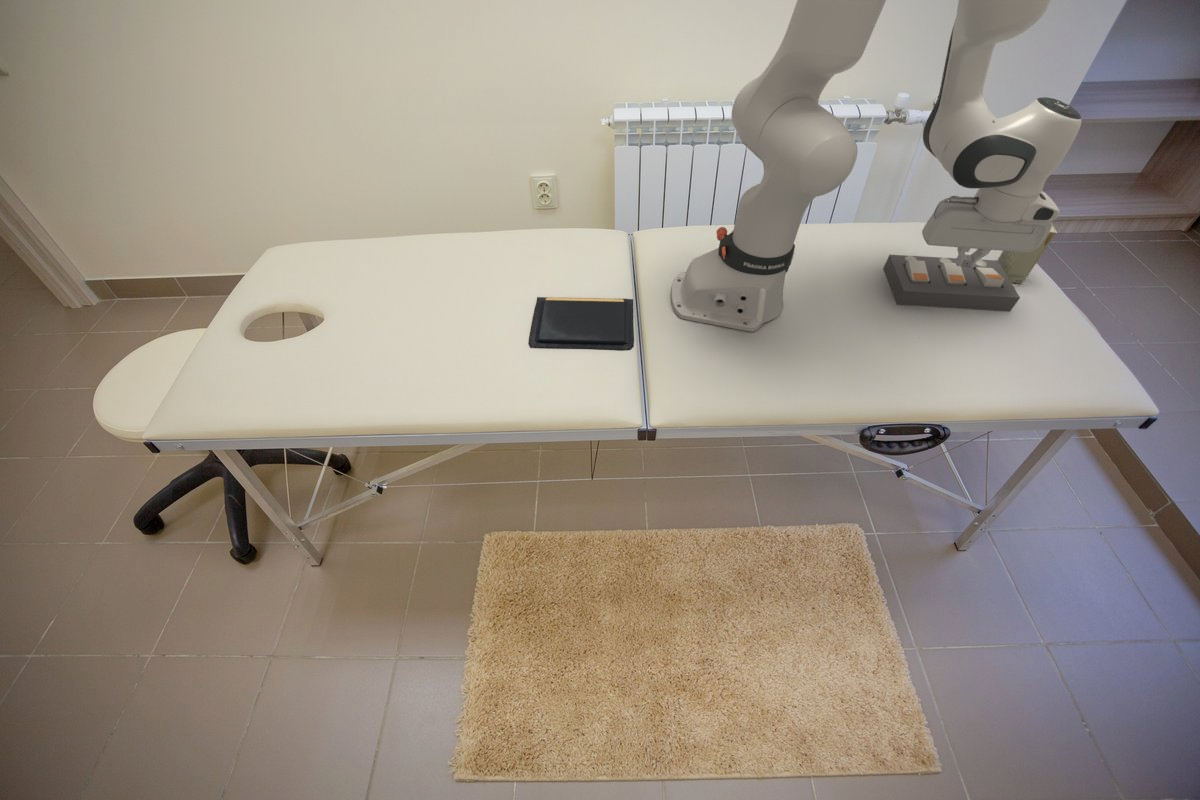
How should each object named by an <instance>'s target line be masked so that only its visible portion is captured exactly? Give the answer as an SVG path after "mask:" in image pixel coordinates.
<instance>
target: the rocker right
mask: <svg viewBox="0 0 1200 800" xmlns="http://www.w3.org/2000/svg"><path fill="white" fill-rule="evenodd" d="M975 272H976V274H977V276H978V278H979V280H980V282H981V283H982V285H983V286H984V287H1001V285H1002V283H1003V281H1004V278H1002V277H1001V276H1000V275H999V274H998V273H997V272H996V271H995V270H994V269H993V268H981V267H976V269H975Z"/></svg>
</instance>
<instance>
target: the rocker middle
mask: <svg viewBox="0 0 1200 800" xmlns="http://www.w3.org/2000/svg"><path fill="white" fill-rule="evenodd" d="M939 269H940V271H941V273H942V276H943V278H944V280H945V282H946V284H949V285H964V284H965V283H966V281H965V278H964V275H963V272H962V268H961V266H956V264H955V263H947V262H943V264H942V265H941V267H940V268H939Z"/></svg>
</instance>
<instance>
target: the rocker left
mask: <svg viewBox="0 0 1200 800" xmlns="http://www.w3.org/2000/svg"><path fill="white" fill-rule="evenodd" d="M905 270H906V272H907V275H908V277H909V279H910V282H914V283H928V282H929V277H928V273H927V268H926V264H925V261H917V260H908V262H907V263H906V265H905Z"/></svg>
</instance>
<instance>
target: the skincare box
mask: <svg viewBox="0 0 1200 800" xmlns="http://www.w3.org/2000/svg"><path fill="white" fill-rule="evenodd" d="M1057 233H1058V232H1057V230H1056V228H1055V226H1054V225H1053V224H1052V227H1051V230H1050V231H1049V233H1048V235H1047V236H1046V238H1045V240H1044V241H1043V242H1042V244H1041V245H1040V246H1039V248H1038V249H1036V250H1034V251H1032V252H1030V253H1025V252H1012V251H1001V253H1000V255H999V256H998V258H997V261H998V262H999V263H1000V265H1001V267H1002V268H1003V270H1004V272H1005V273H1006V275H1007V277H1008V278H1009V280H1010V282H1011V283H1012V284H1013V283H1014V284H1015V283H1016V284H1023V283H1024V282H1025V281H1026V279H1027V278H1028V276H1029V274H1030V273H1031V272H1032V270H1033V269H1034V267H1035V266H1036V264H1037V262H1039V259H1041V256H1043V254H1044V253H1045V251H1046V250H1047V248H1048V247H1049V245H1050V244H1051V242H1052V241H1053V240H1054V238H1055V237H1056V235H1057Z"/></svg>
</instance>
